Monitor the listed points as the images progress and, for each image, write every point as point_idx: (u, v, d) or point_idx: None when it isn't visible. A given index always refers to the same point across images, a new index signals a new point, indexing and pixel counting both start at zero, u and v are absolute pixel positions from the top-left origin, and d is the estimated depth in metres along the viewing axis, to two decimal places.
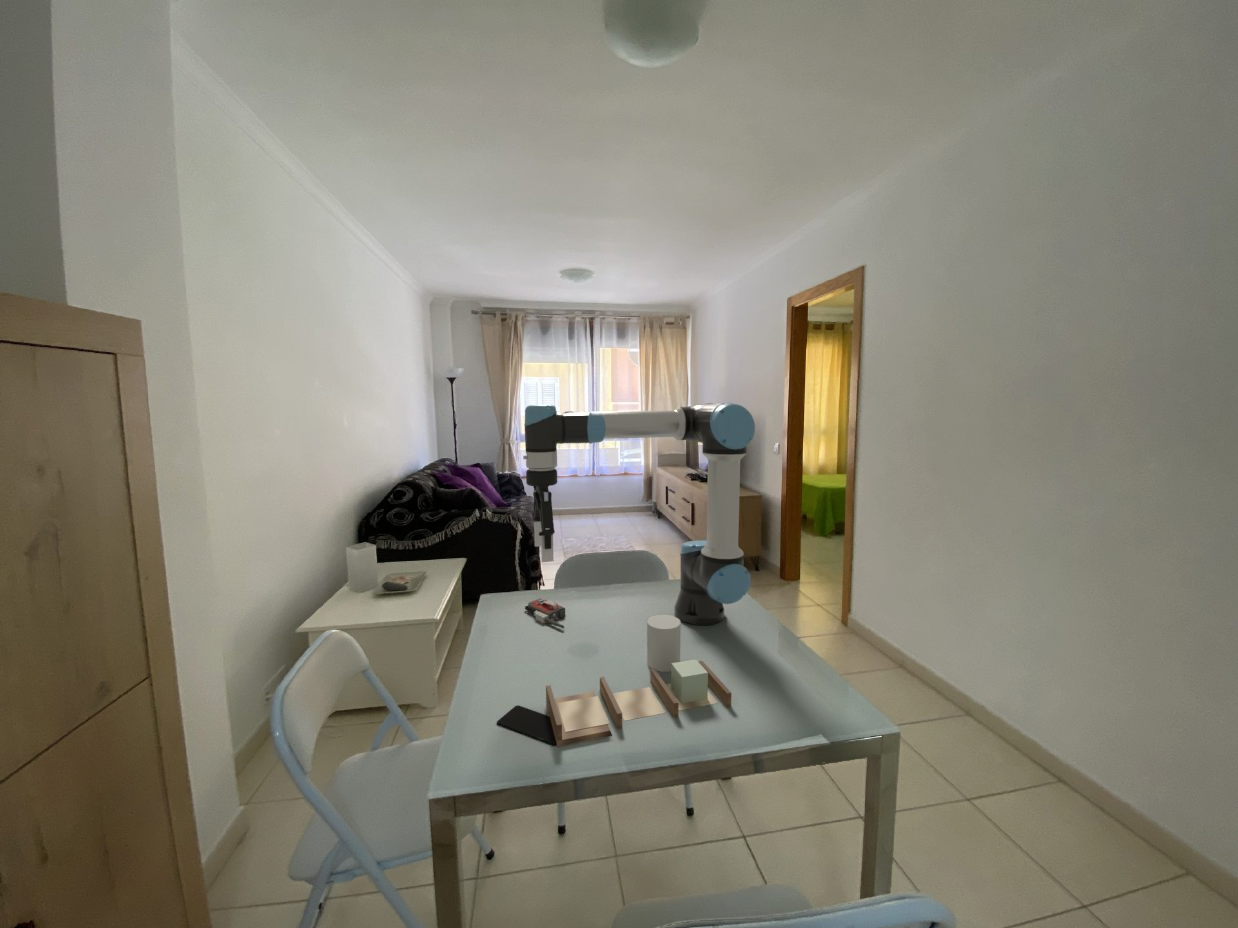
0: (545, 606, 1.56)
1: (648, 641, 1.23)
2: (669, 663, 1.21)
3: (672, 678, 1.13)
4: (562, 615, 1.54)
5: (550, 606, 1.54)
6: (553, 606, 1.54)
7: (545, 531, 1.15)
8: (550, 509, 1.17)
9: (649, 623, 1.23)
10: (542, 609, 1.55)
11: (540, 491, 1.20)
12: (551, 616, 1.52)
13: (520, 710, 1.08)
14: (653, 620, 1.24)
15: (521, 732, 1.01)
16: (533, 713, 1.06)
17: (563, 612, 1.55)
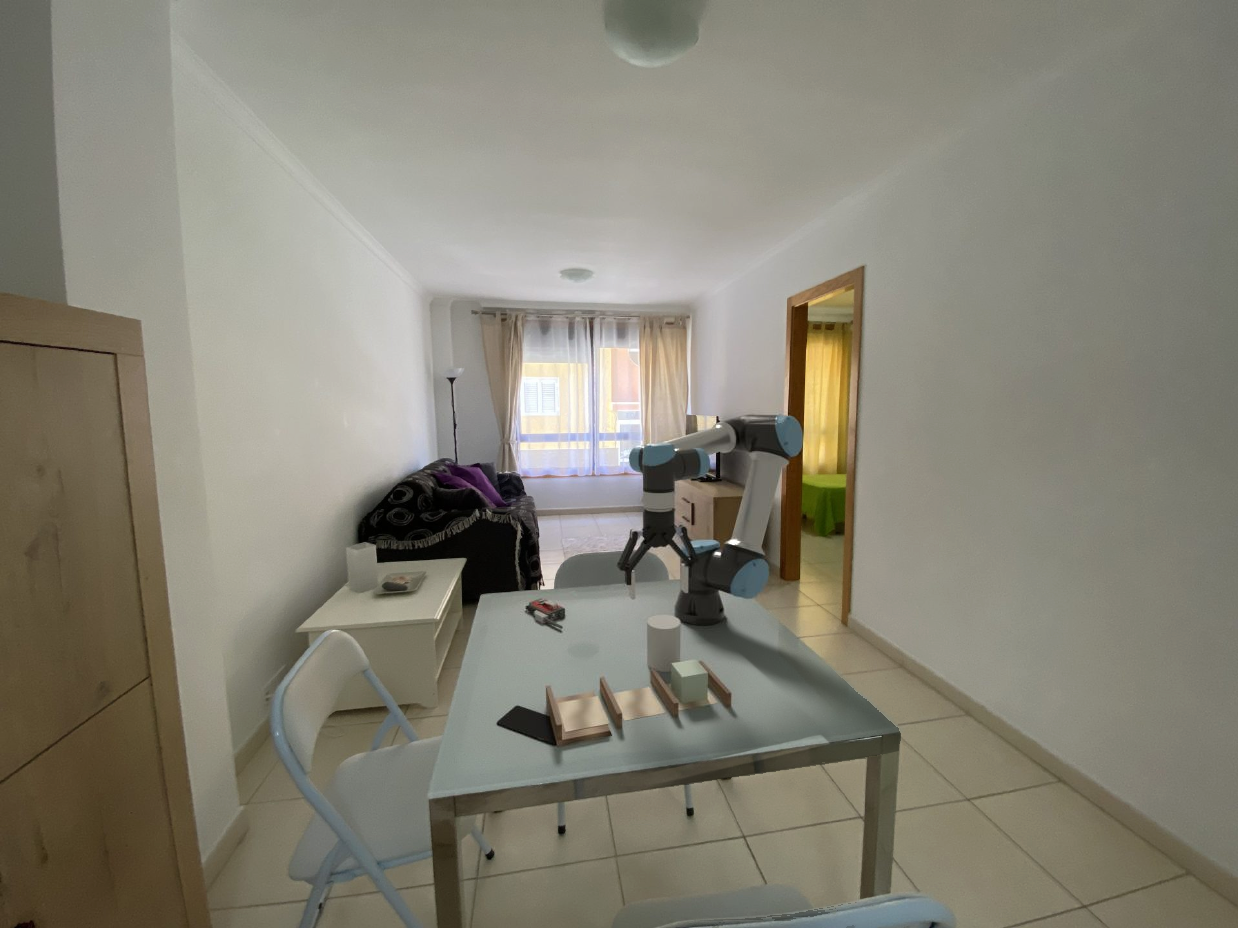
0: (545, 606, 1.56)
1: (648, 641, 1.23)
2: (669, 663, 1.21)
3: (672, 678, 1.13)
4: (562, 615, 1.54)
5: (550, 606, 1.55)
6: (553, 606, 1.54)
7: (617, 564, 1.20)
8: (628, 547, 1.19)
9: (649, 623, 1.23)
10: (542, 609, 1.55)
11: None
12: (550, 616, 1.52)
13: (520, 710, 1.07)
14: (653, 620, 1.24)
15: (521, 732, 1.01)
16: (533, 713, 1.06)
17: (563, 612, 1.55)
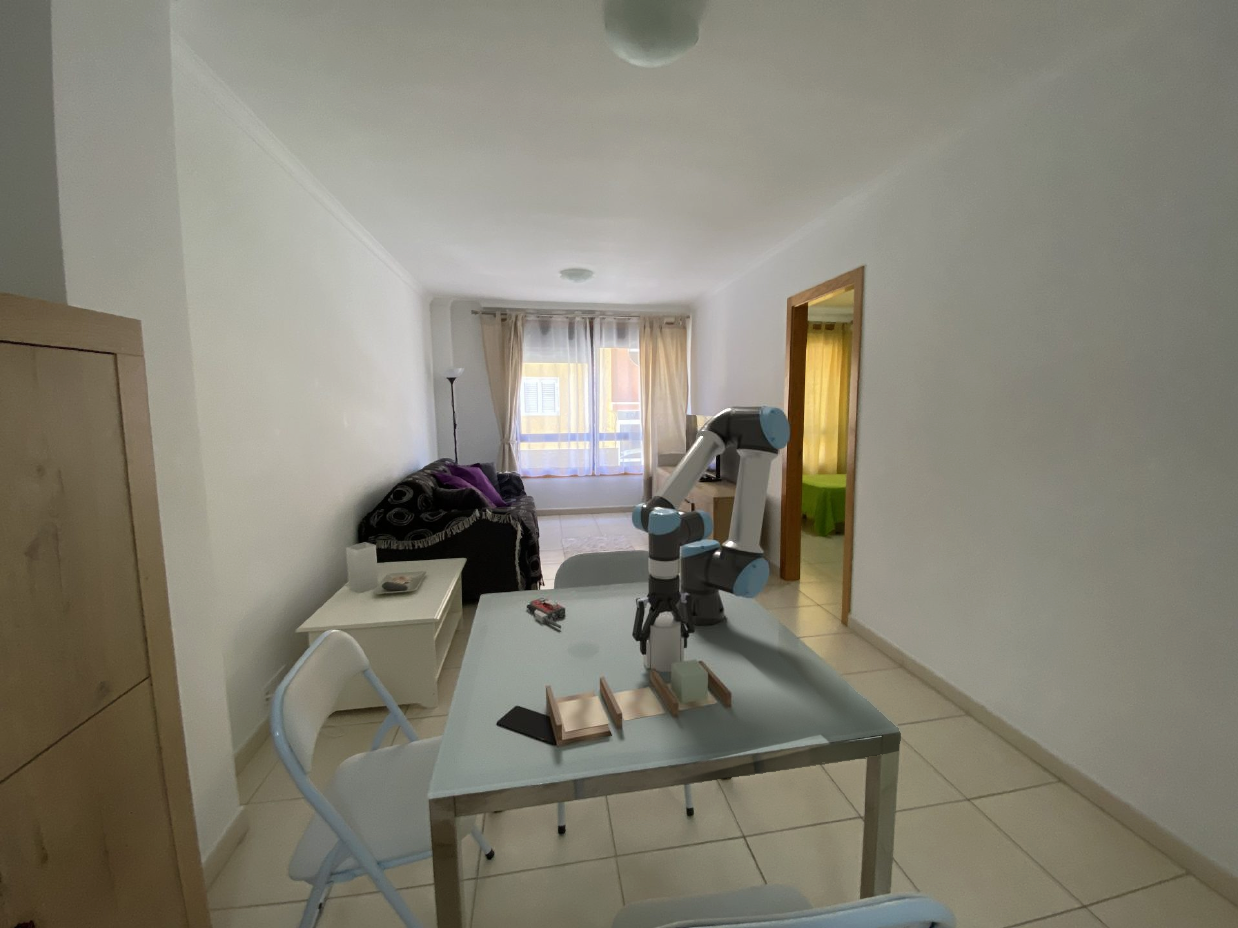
0: (545, 606, 1.57)
1: None
2: (669, 663, 1.21)
3: (672, 678, 1.13)
4: (562, 615, 1.55)
5: (550, 606, 1.55)
6: (553, 606, 1.54)
7: (632, 635, 1.23)
8: (638, 617, 1.21)
9: None
10: (542, 608, 1.55)
11: None
12: (550, 616, 1.53)
13: (520, 710, 1.07)
14: None
15: (521, 732, 1.01)
16: (533, 713, 1.06)
17: (563, 612, 1.55)
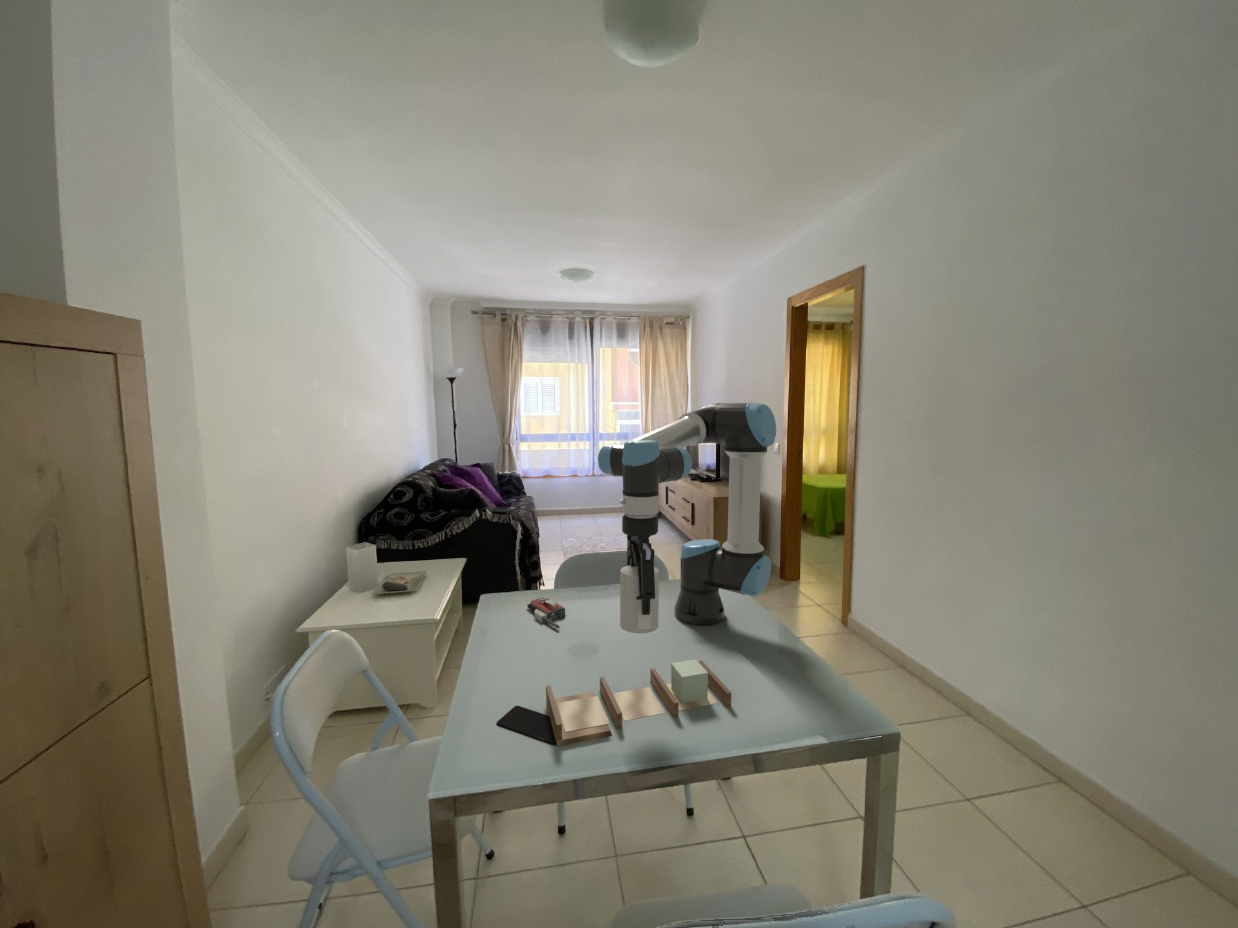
0: (545, 605, 1.57)
1: None
2: None
3: (672, 678, 1.13)
4: (561, 615, 1.55)
5: (550, 605, 1.55)
6: (552, 606, 1.55)
7: (645, 596, 1.00)
8: (652, 570, 1.00)
9: None
10: (542, 608, 1.56)
11: (640, 544, 1.02)
12: (549, 615, 1.53)
13: (519, 710, 1.07)
14: (636, 573, 1.05)
15: (521, 732, 1.01)
16: (533, 713, 1.06)
17: (562, 612, 1.55)
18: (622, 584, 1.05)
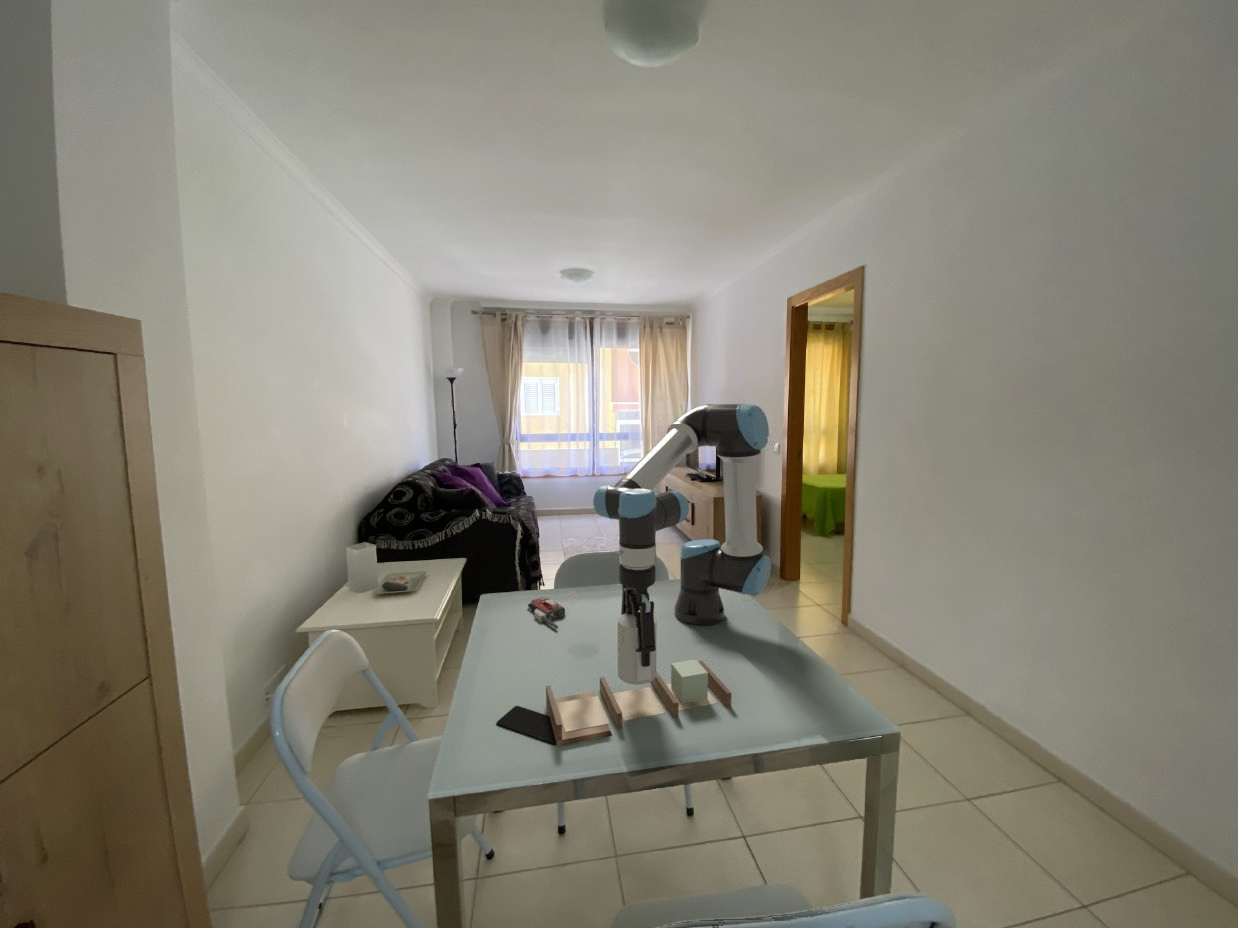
0: (545, 605, 1.57)
1: None
2: None
3: (672, 678, 1.13)
4: (561, 615, 1.55)
5: (549, 605, 1.55)
6: (552, 605, 1.55)
7: (645, 650, 0.99)
8: (652, 622, 1.00)
9: None
10: (542, 608, 1.56)
11: (639, 595, 1.01)
12: (549, 615, 1.53)
13: (519, 710, 1.07)
14: (634, 624, 1.04)
15: (521, 732, 1.01)
16: (533, 713, 1.06)
17: (562, 612, 1.55)
18: (620, 635, 1.04)
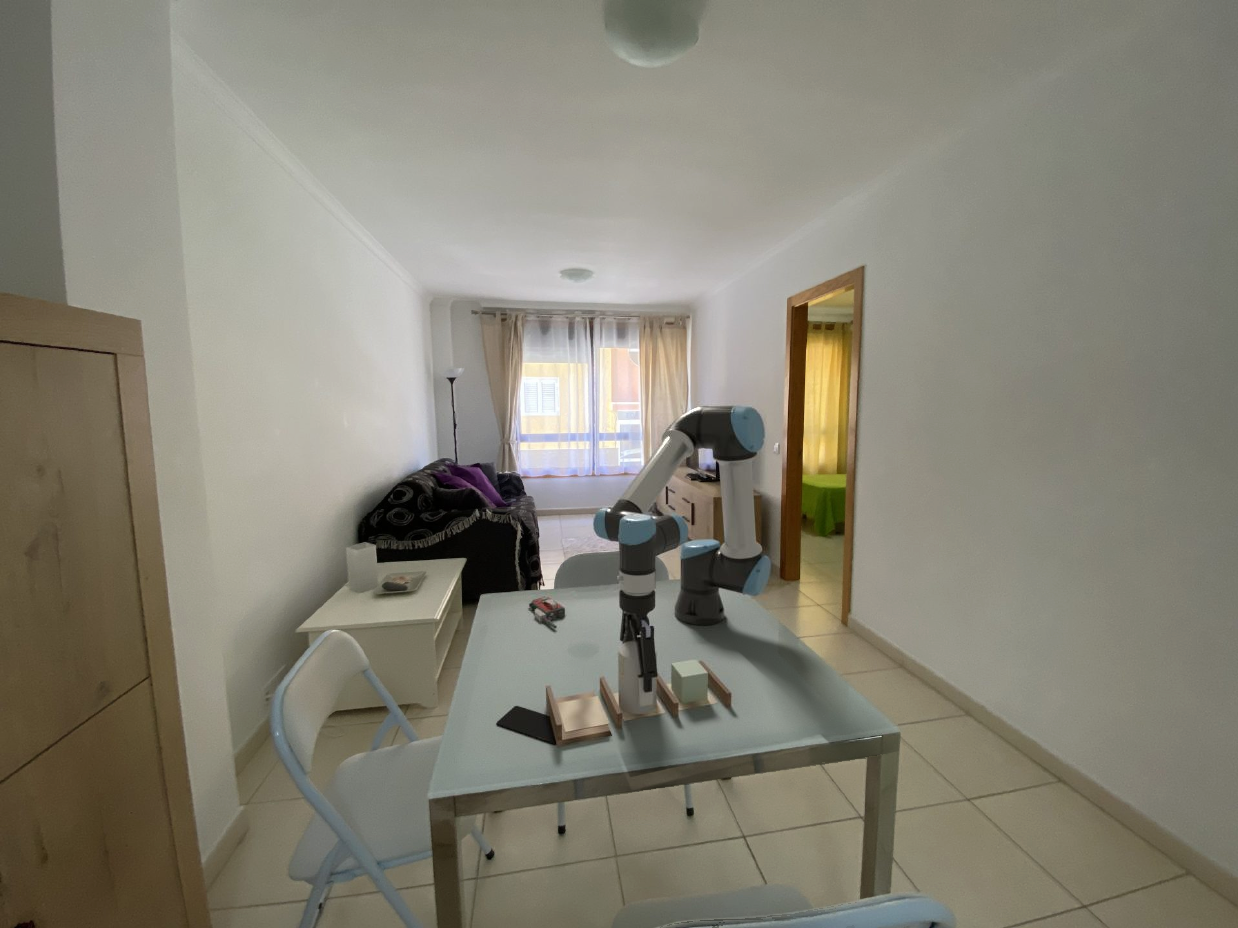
0: (546, 605, 1.58)
1: None
2: None
3: (672, 678, 1.13)
4: (560, 615, 1.55)
5: (549, 605, 1.55)
6: (552, 605, 1.55)
7: (647, 676, 0.99)
8: (653, 647, 1.00)
9: None
10: (542, 607, 1.56)
11: (639, 621, 1.02)
12: (548, 615, 1.53)
13: (519, 710, 1.07)
14: (634, 654, 1.05)
15: (521, 732, 1.01)
16: (533, 713, 1.06)
17: (562, 612, 1.55)
18: (621, 665, 1.05)
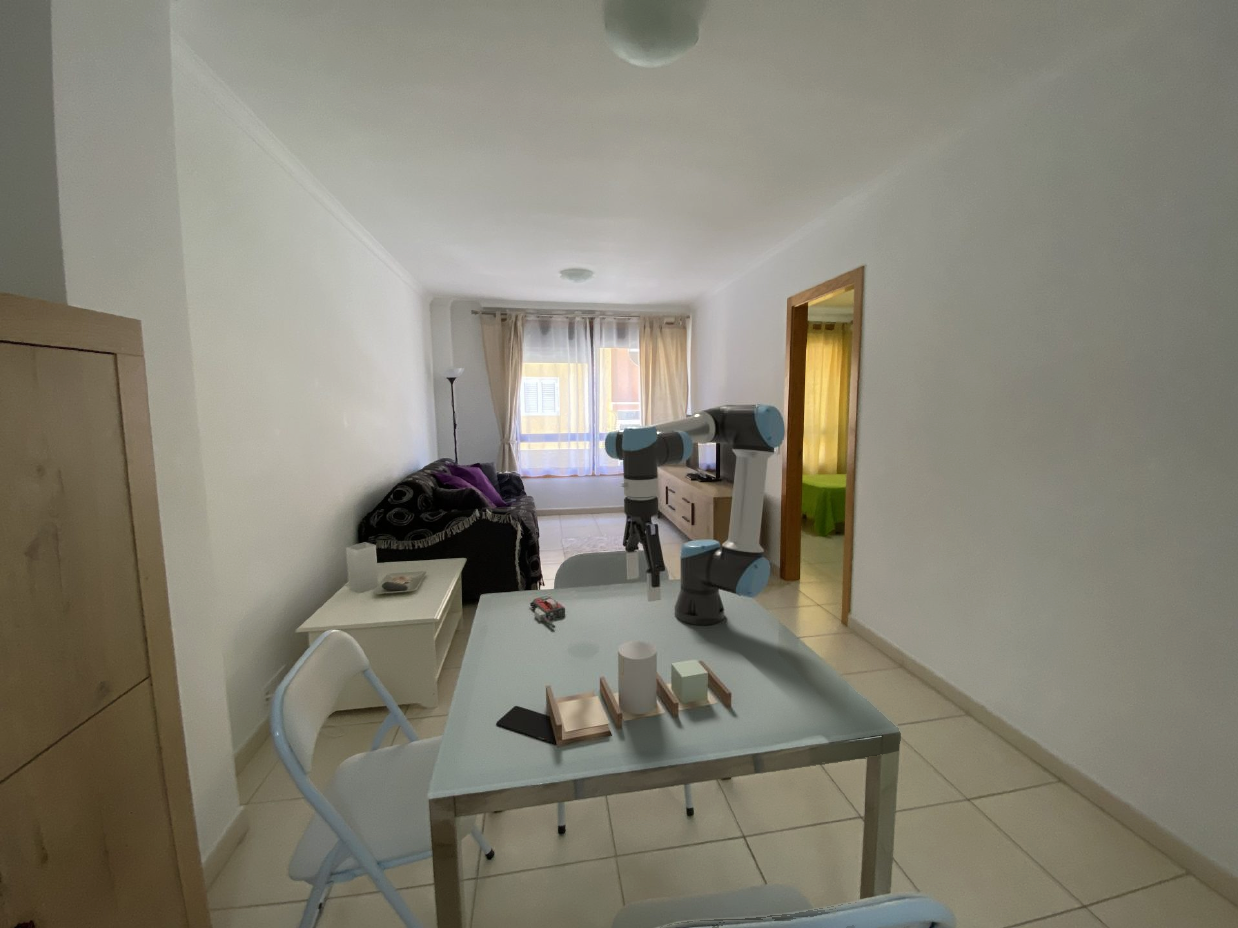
0: (546, 604, 1.58)
1: (644, 678, 1.04)
2: None
3: (672, 678, 1.13)
4: (560, 615, 1.55)
5: (549, 605, 1.56)
6: (552, 605, 1.55)
7: (655, 569, 1.04)
8: (658, 543, 1.06)
9: (642, 657, 1.04)
10: (542, 607, 1.57)
11: (643, 522, 1.08)
12: (548, 615, 1.53)
13: (519, 710, 1.07)
14: (634, 654, 1.05)
15: (522, 732, 1.01)
16: (532, 713, 1.06)
17: (561, 612, 1.55)
18: (621, 665, 1.05)
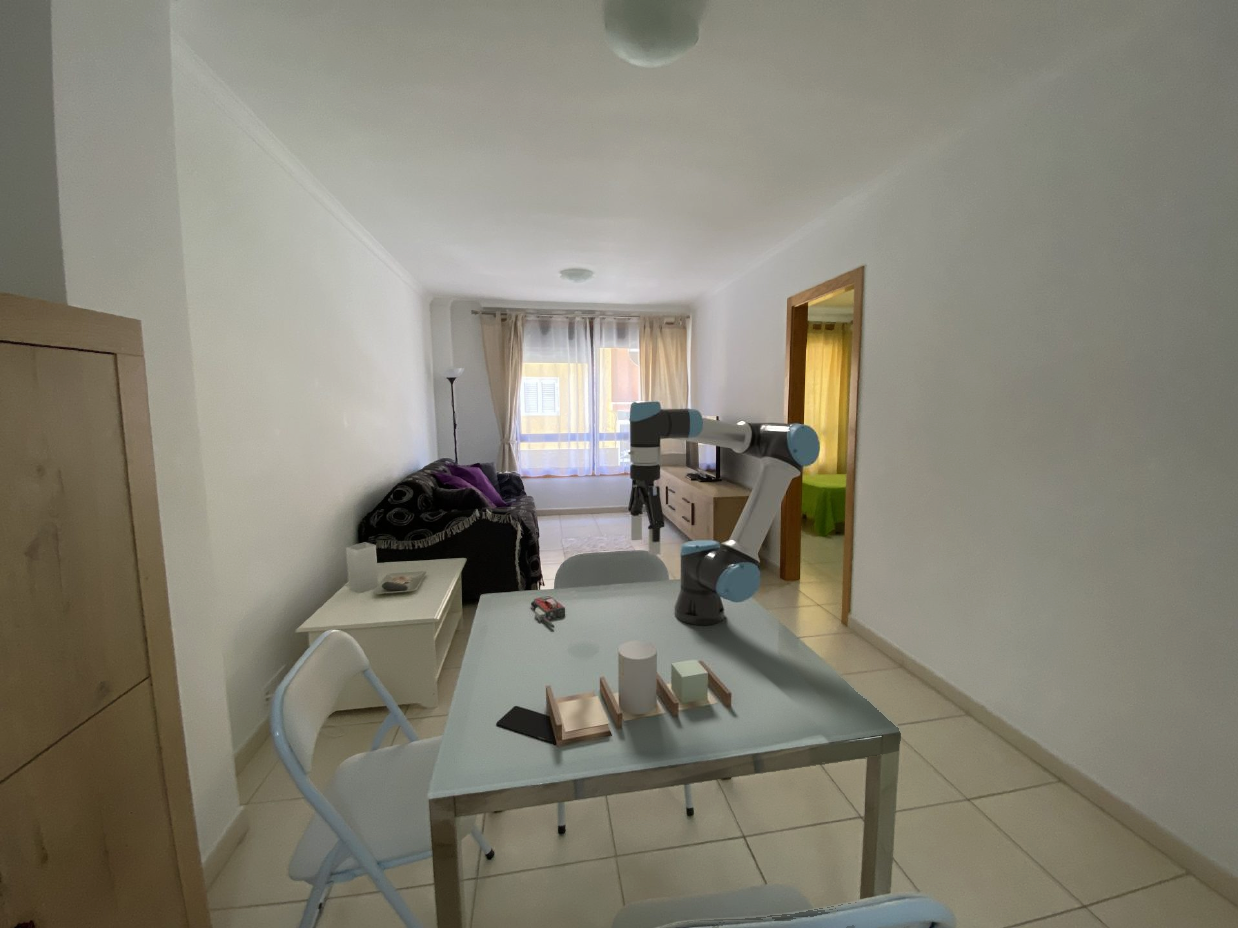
0: (546, 604, 1.58)
1: (644, 679, 1.04)
2: None
3: (672, 678, 1.13)
4: (560, 615, 1.55)
5: (549, 604, 1.56)
6: (552, 605, 1.55)
7: (656, 524, 1.18)
8: (659, 503, 1.20)
9: (643, 657, 1.04)
10: (542, 607, 1.57)
11: (646, 485, 1.23)
12: (548, 614, 1.53)
13: (519, 710, 1.07)
14: (634, 654, 1.05)
15: (522, 733, 1.01)
16: (532, 713, 1.06)
17: (561, 612, 1.55)
18: (621, 665, 1.05)
